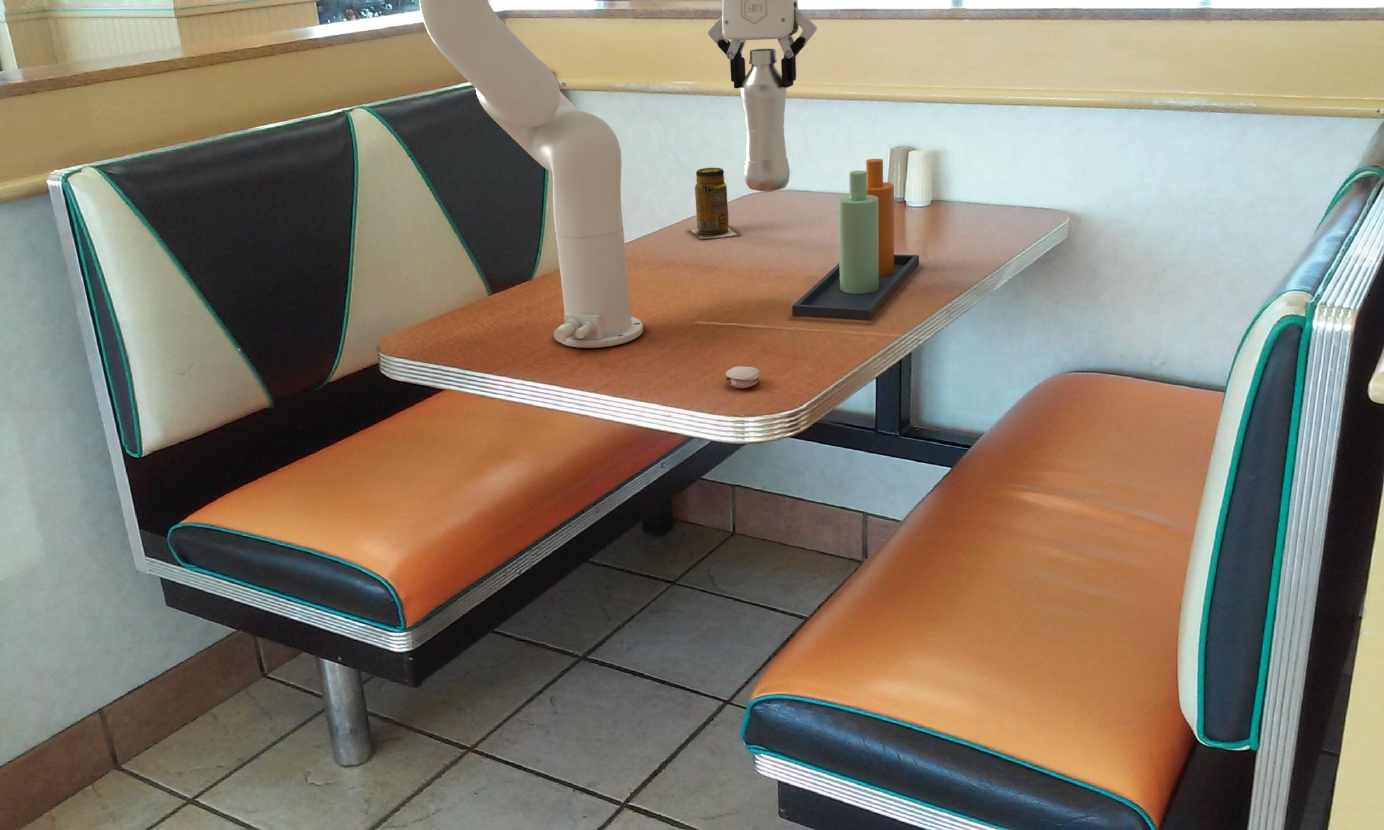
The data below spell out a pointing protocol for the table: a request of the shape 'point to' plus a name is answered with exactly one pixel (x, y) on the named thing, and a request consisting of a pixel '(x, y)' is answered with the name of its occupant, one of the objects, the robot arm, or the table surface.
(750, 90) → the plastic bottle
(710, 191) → the condiment
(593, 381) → the table surface
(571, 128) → the robot arm
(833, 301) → the tray
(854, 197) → the sage bottle
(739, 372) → the macaroon
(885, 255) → the amber bottle
